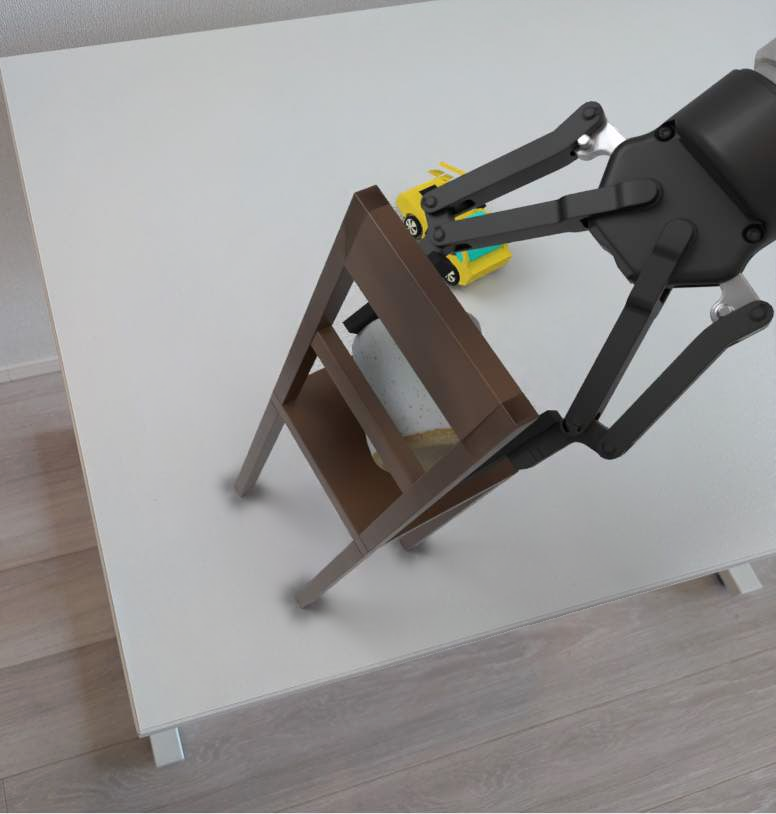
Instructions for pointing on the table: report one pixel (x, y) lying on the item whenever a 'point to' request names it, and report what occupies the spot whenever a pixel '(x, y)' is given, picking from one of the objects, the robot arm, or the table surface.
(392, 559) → the table surface
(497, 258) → the toy car
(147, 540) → the table surface
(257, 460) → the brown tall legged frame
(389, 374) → the ceramic mug
